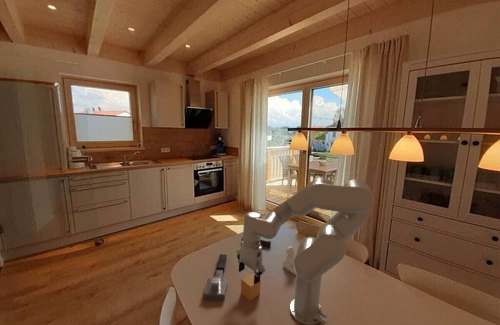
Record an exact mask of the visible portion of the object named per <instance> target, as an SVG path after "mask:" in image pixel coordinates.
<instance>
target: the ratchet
mask: <svg viewBox="0 0 500 325" xmlns="http://www.w3.org/2000/svg"><path fill="white" fill-rule="evenodd" d="M227 259H228V255H227V254H222V253H221V254H219V256H218V259H217V263H216V270H215V271H216V273H215V276H214V277H211V278H207V279H206V280H207V281H206V283H205V288H204V291H203V294H202V295H203V301H218V302H219V301H222V302H223V301H225V299H226V294H227V293H226V292H227V288H228V279H226V278H225V279H223V277H224V273H225V271H226V266H227V265H226V264H227Z"/></svg>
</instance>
